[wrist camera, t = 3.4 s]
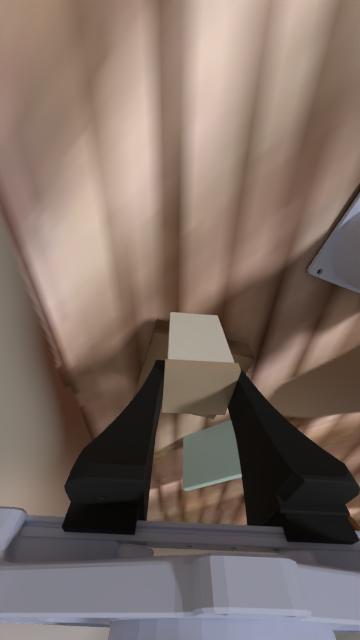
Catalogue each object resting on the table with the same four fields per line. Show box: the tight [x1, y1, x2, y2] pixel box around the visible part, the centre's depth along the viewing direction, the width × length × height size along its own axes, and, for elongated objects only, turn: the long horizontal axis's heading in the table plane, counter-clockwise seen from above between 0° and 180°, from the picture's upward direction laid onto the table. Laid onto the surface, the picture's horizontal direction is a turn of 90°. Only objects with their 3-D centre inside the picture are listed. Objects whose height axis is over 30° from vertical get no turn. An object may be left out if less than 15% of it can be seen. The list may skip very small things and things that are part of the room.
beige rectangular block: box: [162, 312, 241, 415], centre depth 14 cm, size 4×4×6 cm
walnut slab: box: [134, 319, 255, 419], centre depth 23 cm, size 11×11×3 cm
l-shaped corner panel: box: [183, 420, 242, 491], centre depth 30 cm, size 12×12×8 cm
